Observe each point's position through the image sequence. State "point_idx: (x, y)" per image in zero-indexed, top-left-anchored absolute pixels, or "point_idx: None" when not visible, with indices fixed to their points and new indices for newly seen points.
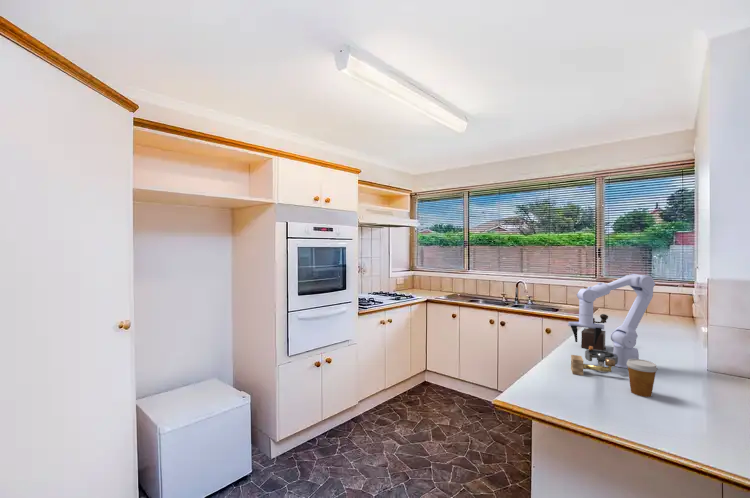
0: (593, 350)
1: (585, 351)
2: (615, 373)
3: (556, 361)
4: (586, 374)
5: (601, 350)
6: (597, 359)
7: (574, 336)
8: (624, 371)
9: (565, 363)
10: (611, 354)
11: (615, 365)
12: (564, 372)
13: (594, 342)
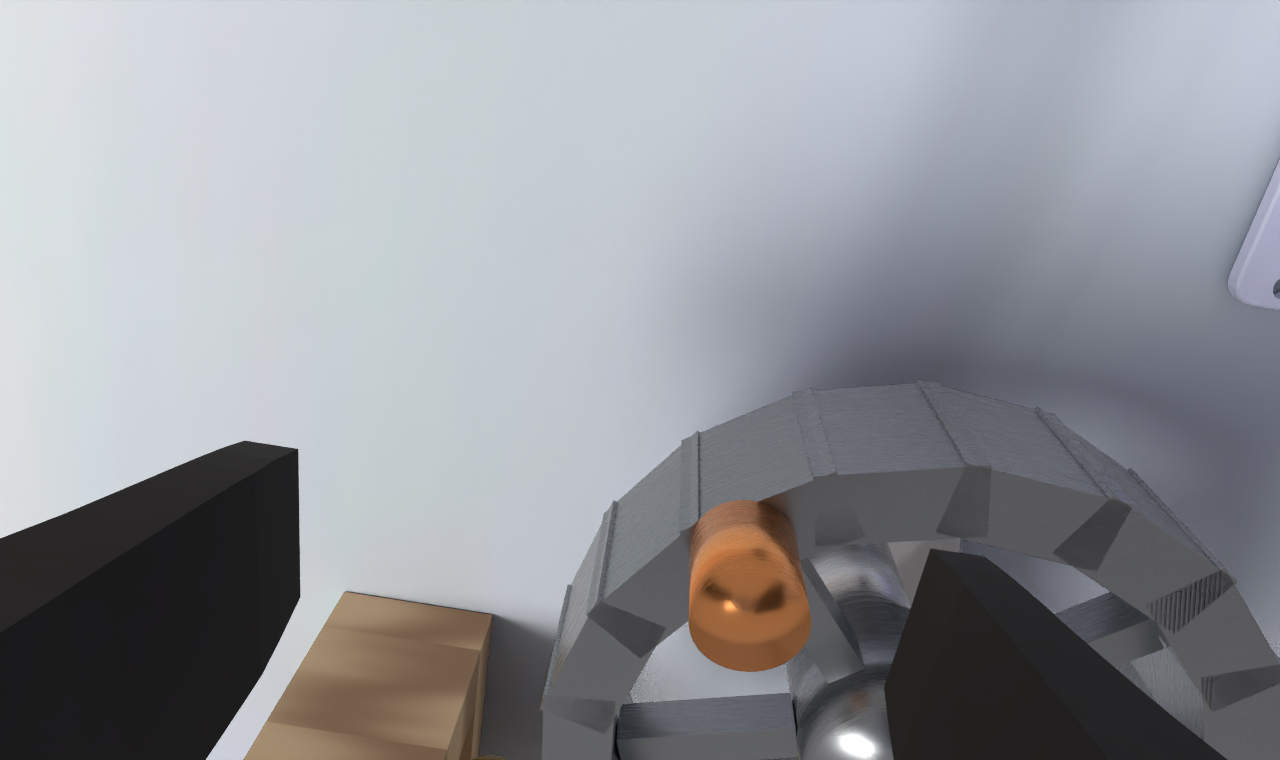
0: (817, 549)
1: (549, 697)
2: None
3: (116, 255)
4: (531, 754)
5: (1073, 507)
6: (789, 685)
7: (79, 533)
8: (1253, 503)
9: (279, 334)
10: (1190, 704)
11: (1264, 285)
12: (239, 746)
13: (899, 731)
